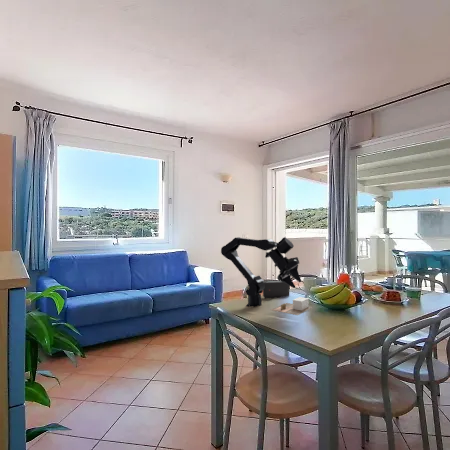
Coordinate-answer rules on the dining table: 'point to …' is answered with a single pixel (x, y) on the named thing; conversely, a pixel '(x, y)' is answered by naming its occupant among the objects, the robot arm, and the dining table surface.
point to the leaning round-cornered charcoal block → (275, 289)
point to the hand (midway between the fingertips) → (297, 284)
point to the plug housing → (300, 303)
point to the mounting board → (289, 309)
